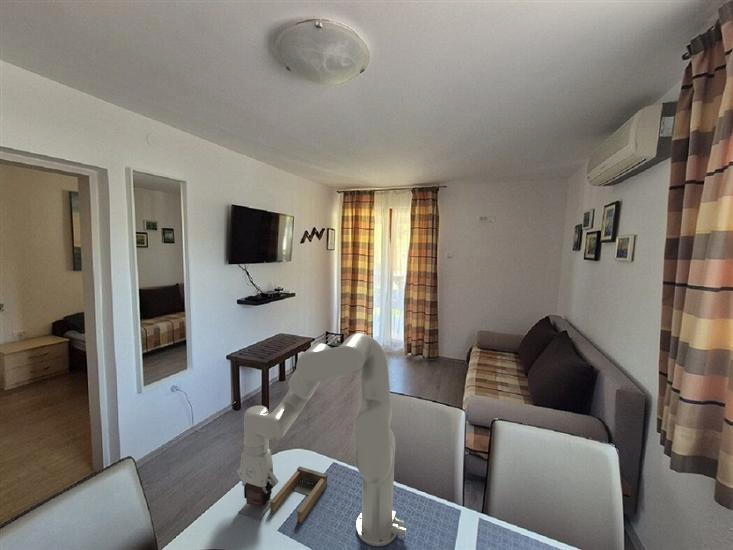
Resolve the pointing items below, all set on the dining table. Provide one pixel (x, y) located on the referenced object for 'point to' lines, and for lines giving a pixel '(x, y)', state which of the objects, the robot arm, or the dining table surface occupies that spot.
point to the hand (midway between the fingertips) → (257, 497)
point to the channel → (301, 490)
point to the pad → (255, 510)
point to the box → (254, 494)
